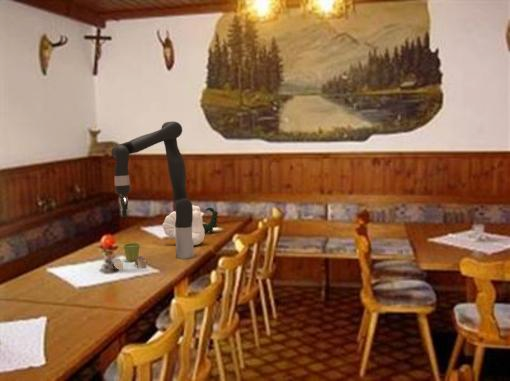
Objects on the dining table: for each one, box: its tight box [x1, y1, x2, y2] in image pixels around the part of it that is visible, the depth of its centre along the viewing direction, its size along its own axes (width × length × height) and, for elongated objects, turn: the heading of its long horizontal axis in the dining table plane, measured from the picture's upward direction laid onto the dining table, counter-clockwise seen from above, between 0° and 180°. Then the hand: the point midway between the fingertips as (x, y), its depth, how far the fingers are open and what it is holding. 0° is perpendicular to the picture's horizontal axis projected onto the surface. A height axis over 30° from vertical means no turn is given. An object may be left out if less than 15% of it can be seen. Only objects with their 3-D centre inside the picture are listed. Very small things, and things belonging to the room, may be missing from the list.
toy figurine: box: [202, 207, 219, 235], centre depth 373 cm, size 9×19×25 cm
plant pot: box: [122, 242, 141, 262], centre depth 299 cm, size 9×9×9 cm
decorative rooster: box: [162, 204, 206, 246], centre depth 336 cm, size 25×16×25 cm, turn 80°
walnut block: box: [134, 255, 147, 269], centre depth 287 cm, size 4×4×10 cm
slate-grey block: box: [112, 257, 123, 271], centre depth 282 cm, size 4×4×10 cm
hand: (124, 217), depth 285 cm, fingers closed
